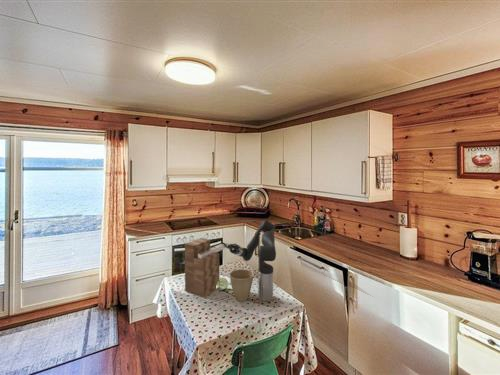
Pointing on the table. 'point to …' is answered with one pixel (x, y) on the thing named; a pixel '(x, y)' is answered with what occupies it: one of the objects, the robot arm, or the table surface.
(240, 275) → the plant pot
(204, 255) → the aluminium bar
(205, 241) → the walnut stand
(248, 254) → the robot arm
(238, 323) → the table surface
